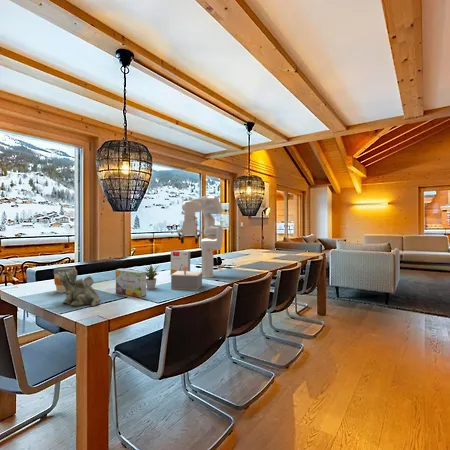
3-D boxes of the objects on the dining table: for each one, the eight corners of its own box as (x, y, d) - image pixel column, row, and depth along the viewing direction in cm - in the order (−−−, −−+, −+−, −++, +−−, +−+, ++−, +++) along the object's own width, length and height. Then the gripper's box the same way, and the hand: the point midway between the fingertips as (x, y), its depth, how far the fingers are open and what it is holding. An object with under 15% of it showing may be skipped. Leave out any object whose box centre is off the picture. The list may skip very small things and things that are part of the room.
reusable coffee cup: (48, 292, 186) (48, 268, 186) (66, 288, 198) (66, 266, 198) (63, 294, 182) (63, 270, 181) (80, 290, 193) (80, 267, 193)
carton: (177, 284, 212) (177, 271, 212) (202, 285, 209) (202, 272, 209) (171, 288, 198) (171, 275, 198) (197, 289, 196) (197, 276, 195)
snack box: (114, 293, 186) (114, 269, 185) (121, 291, 191) (121, 268, 190) (140, 297, 176) (140, 272, 176) (146, 295, 181) (146, 270, 181)
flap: (197, 276, 195) (197, 266, 195) (171, 275, 198) (171, 265, 198) (202, 272, 209) (202, 263, 209) (177, 271, 212) (177, 262, 212)
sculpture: (74, 296, 177) (74, 263, 177) (110, 301, 167) (110, 266, 167) (48, 303, 162) (48, 267, 161) (86, 309, 152) (86, 270, 151)
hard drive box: (170, 274, 249) (170, 251, 249) (173, 273, 256) (173, 250, 256) (188, 275, 246) (188, 251, 246) (190, 273, 254) (190, 250, 254)
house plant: (153, 284, 211) (153, 261, 211) (166, 287, 203) (166, 263, 203) (136, 288, 199) (136, 264, 199) (150, 291, 191) (150, 266, 191)
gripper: (203, 219, 206) (202, 243, 205) (179, 218, 208) (178, 243, 208) (200, 218, 198) (200, 244, 198) (175, 218, 201) (175, 243, 200)
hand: (189, 243), depth 203 cm, fingers open, 9 cm apart
